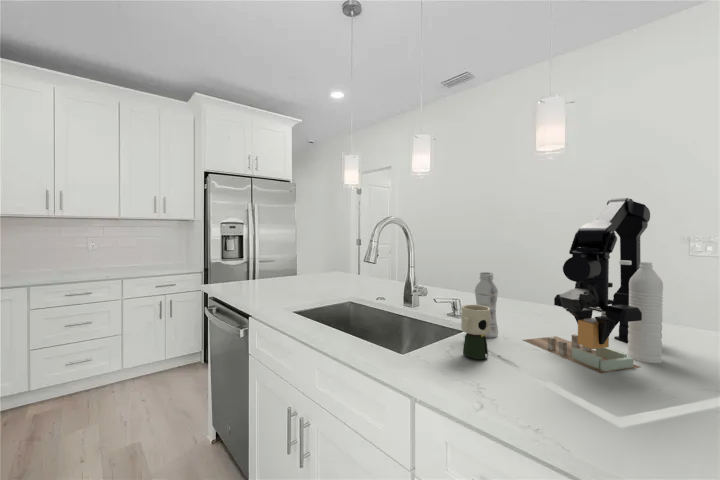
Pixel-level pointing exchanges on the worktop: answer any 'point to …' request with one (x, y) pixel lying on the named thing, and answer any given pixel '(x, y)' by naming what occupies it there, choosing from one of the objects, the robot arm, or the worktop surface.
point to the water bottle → (645, 314)
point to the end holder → (615, 357)
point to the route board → (567, 349)
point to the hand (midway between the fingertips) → (593, 341)
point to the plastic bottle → (488, 300)
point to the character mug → (475, 330)
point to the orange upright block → (590, 334)
